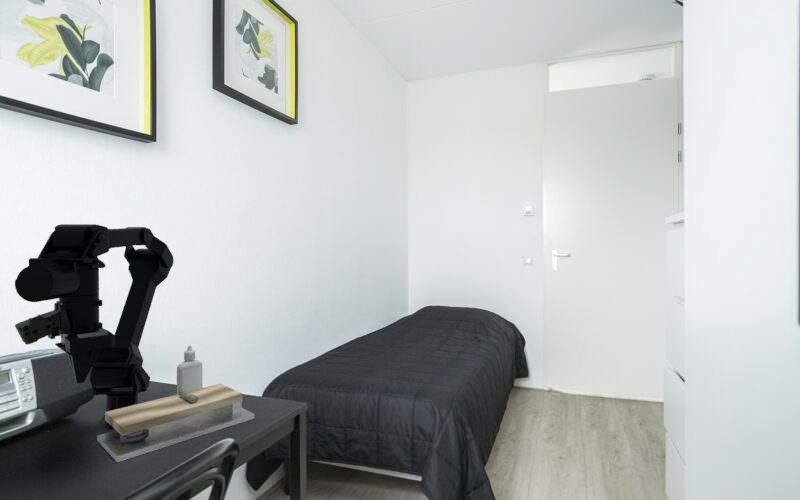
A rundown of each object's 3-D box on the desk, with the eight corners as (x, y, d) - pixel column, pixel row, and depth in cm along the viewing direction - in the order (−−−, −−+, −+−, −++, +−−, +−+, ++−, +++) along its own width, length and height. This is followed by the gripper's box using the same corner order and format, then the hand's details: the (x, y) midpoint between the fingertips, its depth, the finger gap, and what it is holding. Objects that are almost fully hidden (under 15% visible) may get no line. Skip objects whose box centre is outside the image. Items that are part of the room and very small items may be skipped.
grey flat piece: (97, 441, 81) (97, 420, 81) (227, 404, 99) (227, 388, 99) (116, 462, 73) (116, 439, 73) (254, 418, 91) (254, 400, 91)
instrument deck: (105, 420, 81) (104, 404, 81) (220, 390, 97) (220, 377, 97) (121, 435, 74) (121, 418, 74) (242, 400, 90) (242, 387, 90)
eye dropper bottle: (202, 396, 105) (202, 346, 105) (176, 399, 103) (176, 349, 103) (202, 390, 109) (202, 343, 109) (177, 394, 107) (176, 345, 107)
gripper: (11, 294, 77) (12, 382, 77) (29, 304, 65) (29, 408, 65) (86, 290, 86) (87, 369, 86) (115, 297, 73) (116, 390, 73)
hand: (80, 382), depth 77 cm, fingers closed
